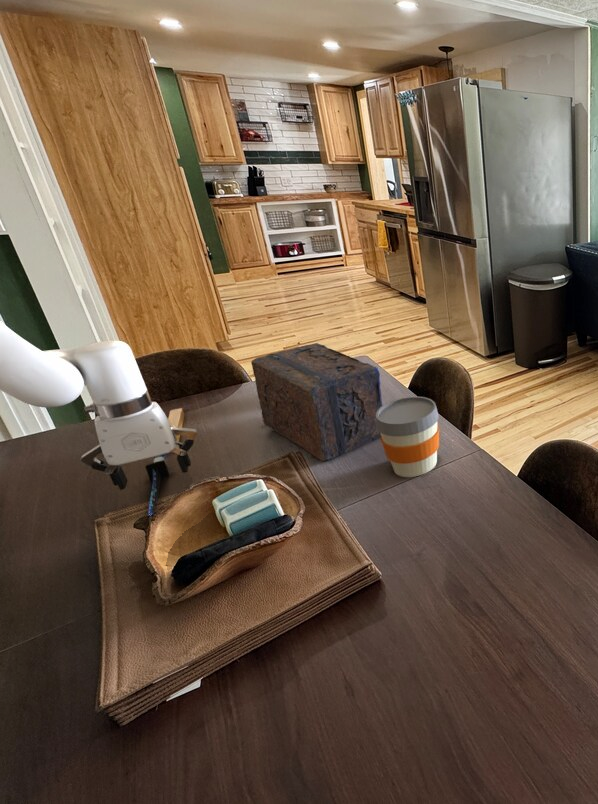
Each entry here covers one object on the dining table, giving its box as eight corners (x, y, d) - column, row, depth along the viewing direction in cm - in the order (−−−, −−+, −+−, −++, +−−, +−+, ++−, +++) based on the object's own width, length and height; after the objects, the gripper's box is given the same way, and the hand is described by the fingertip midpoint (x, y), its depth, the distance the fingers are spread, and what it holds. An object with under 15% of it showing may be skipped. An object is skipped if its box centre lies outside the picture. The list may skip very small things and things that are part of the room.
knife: (161, 450, 109) (153, 435, 107) (178, 446, 111) (171, 431, 109) (136, 546, 87) (126, 529, 85) (157, 539, 88) (148, 522, 86)
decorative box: (328, 405, 135) (250, 430, 118) (321, 337, 129) (238, 354, 112) (400, 436, 121) (323, 470, 104) (396, 362, 115) (314, 385, 98)
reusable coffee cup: (396, 493, 98) (384, 431, 93) (378, 465, 107) (366, 407, 102) (454, 470, 106) (446, 411, 100) (432, 445, 115) (424, 390, 109)
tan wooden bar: (164, 449, 112) (161, 441, 111) (173, 417, 126) (170, 410, 125) (177, 445, 114) (174, 438, 113) (184, 414, 127) (182, 407, 126)
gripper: (54, 426, 83) (93, 503, 90) (180, 400, 93) (207, 472, 99) (66, 408, 89) (102, 483, 96) (184, 386, 98) (209, 455, 105)
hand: (155, 477), depth 97 cm, fingers open, 9 cm apart
